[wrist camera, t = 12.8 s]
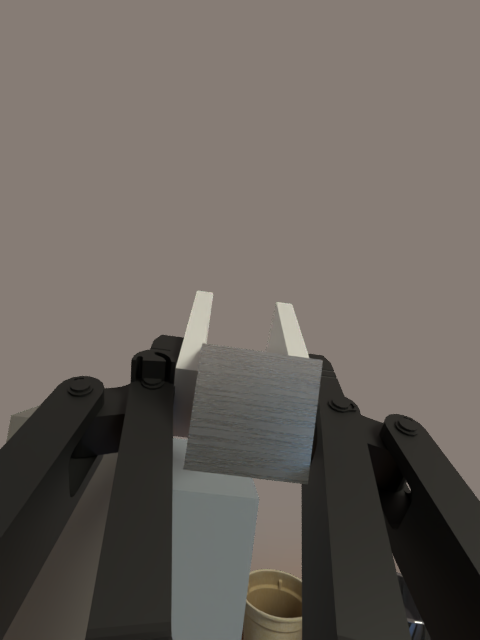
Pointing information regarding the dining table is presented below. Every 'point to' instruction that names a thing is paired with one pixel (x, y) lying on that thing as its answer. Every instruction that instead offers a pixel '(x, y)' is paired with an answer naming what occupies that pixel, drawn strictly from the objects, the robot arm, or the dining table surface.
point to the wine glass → (412, 613)
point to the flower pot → (273, 606)
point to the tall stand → (67, 563)
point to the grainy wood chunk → (253, 414)
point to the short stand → (210, 551)
